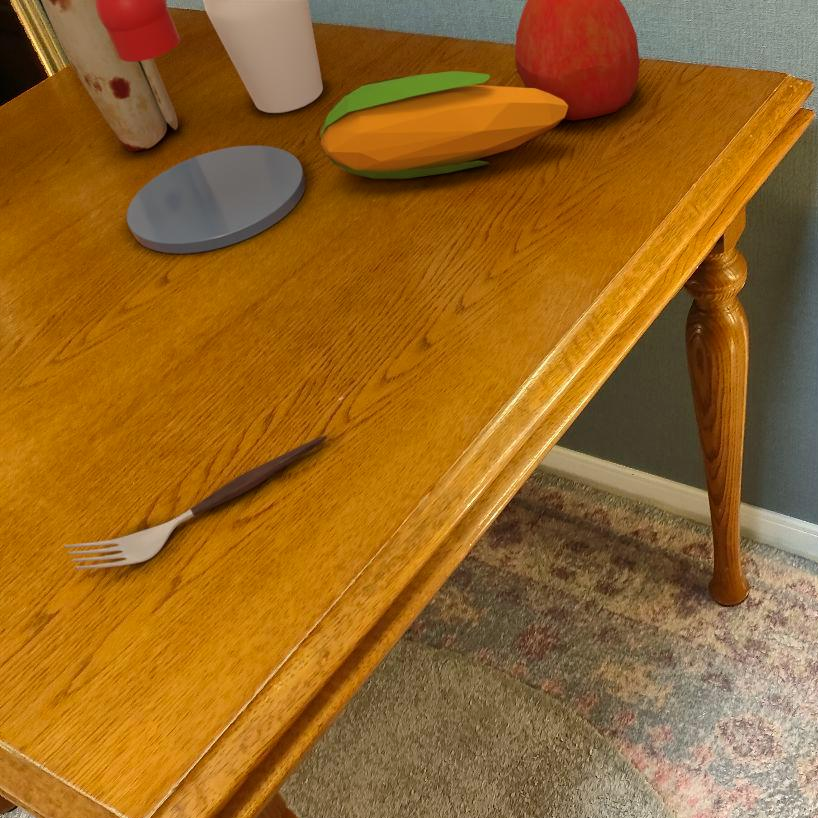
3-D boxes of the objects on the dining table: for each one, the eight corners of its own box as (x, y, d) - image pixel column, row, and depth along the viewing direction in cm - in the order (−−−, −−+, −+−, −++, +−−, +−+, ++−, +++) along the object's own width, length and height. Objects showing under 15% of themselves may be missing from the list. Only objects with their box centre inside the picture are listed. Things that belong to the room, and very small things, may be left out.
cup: (245, 129, 92) (192, -8, 83) (242, 89, 98) (192, -43, 89) (340, 105, 93) (297, -35, 84) (331, 66, 99) (290, -68, 90)
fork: (338, 453, 61) (328, 429, 59) (93, 592, 56) (76, 570, 55) (319, 432, 62) (309, 408, 61) (80, 565, 58) (62, 543, 56)
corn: (312, 69, 80) (560, 29, 78) (341, 154, 86) (572, 120, 84) (299, 119, 75) (562, 79, 73) (331, 206, 81) (575, 171, 79)
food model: (120, 122, 97) (8, -111, 83) (187, 106, 98) (87, -130, 83) (109, 169, 91) (-14, -74, 76) (181, 153, 91) (72, -94, 76)
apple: (500, 114, 87) (477, -15, 79) (585, 65, 90) (571, -62, 82) (582, 146, 81) (565, 11, 73) (669, 93, 84) (662, -42, 77)
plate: (109, 264, 80) (103, 254, 79) (157, 168, 90) (152, 158, 89) (289, 240, 78) (285, 229, 77) (318, 145, 88) (315, 134, 87)
